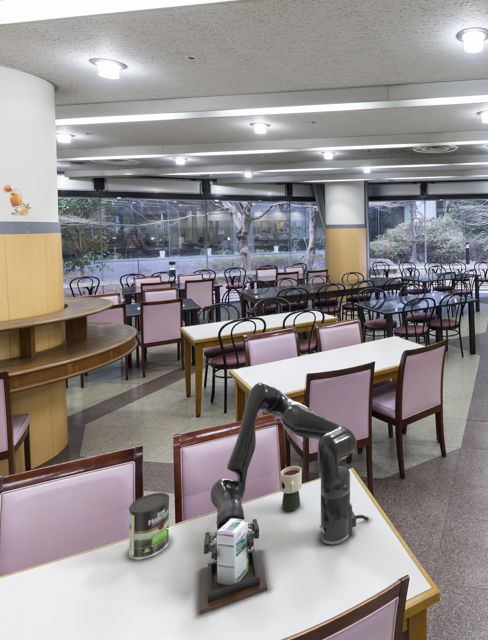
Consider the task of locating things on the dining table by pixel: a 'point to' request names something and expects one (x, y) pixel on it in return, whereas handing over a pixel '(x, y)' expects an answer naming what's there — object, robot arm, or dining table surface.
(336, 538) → the robot arm
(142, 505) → the coffee can
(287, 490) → the character mug
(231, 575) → the syrup box
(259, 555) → the base pad
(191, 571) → the dining table surface
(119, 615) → the dining table surface
